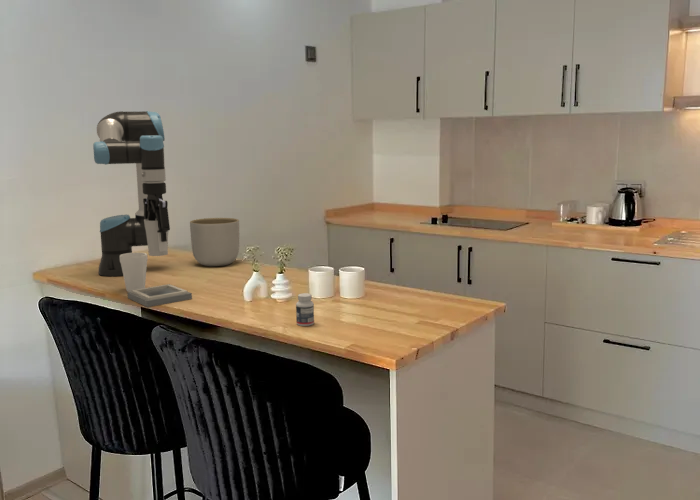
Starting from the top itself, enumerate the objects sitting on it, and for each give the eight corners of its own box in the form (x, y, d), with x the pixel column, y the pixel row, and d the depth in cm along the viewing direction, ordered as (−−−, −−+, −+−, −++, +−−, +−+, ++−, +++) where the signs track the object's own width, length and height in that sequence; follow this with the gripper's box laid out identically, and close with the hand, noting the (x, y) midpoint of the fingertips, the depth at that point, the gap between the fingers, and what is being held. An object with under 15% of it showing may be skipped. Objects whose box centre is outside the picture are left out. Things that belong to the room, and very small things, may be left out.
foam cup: (151, 290, 235) (149, 255, 233) (125, 294, 231) (123, 258, 228) (145, 285, 243) (143, 251, 241) (119, 288, 239) (117, 254, 237)
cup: (163, 256, 217) (161, 221, 215) (141, 256, 219) (139, 220, 217) (174, 252, 225) (172, 218, 223) (153, 251, 227) (151, 217, 224)
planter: (235, 268, 273) (234, 223, 270) (186, 269, 274) (184, 224, 270) (244, 259, 294) (242, 217, 291) (198, 259, 294) (196, 217, 291)
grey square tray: (127, 298, 225) (127, 290, 225) (171, 290, 235) (170, 283, 235) (147, 307, 213) (146, 298, 213) (191, 298, 223) (191, 290, 223)
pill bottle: (296, 321, 196) (295, 292, 194) (313, 321, 196) (313, 292, 194) (296, 326, 190) (295, 297, 189) (314, 326, 191) (313, 296, 189)
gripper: (130, 181, 223) (135, 247, 227) (156, 184, 208) (160, 254, 212) (151, 180, 228) (155, 244, 232) (178, 183, 213) (182, 252, 217)
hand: (157, 249), depth 222 cm, fingers closed on cup, 7 cm apart
